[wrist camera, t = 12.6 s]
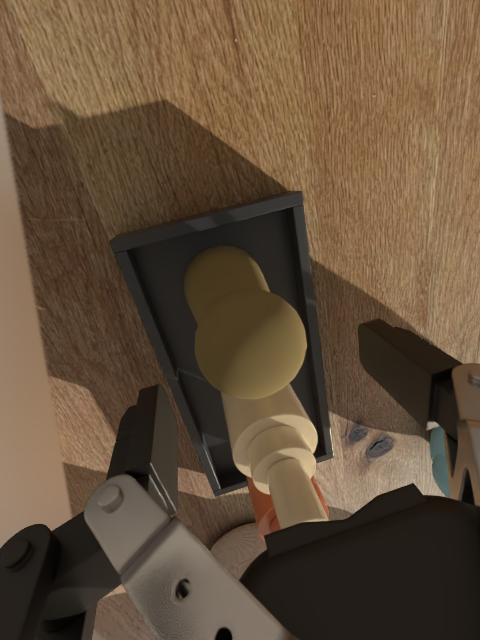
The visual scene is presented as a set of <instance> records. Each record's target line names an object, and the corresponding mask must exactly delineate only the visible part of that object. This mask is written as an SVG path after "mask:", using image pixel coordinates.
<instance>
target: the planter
mask: <svg viewBox="0 0 480 640" xmlns="http://www.w3.org/2000/svg"><path fill="white" fill-rule="evenodd" d="M266 549H267V547H266V543H265V542H264V541H263V540H262V539H261V538H260V536H259V534H258V530H257V526H256V523H250V524H245V525H242V526H239V527H237V528H234V529H232V530H231V531H229V532H227V533H226V534H224V535H223V536H222V537H221V538H220V539H219V540H218V541H217V542H216V543H215V544H214V545H213V547H212V548H211V550H210V552H211V553H212V554H213V555H214V556H215V557H216V558H217V559H218V560H219V561H220V562H221V563H222V564H223V565H224V566H225V567H226V568H227V569H228V570H229V571H230V572H231V573H232V574H233V575H234V576H235V577H236V578H237V579H238V580H239V579H240V578H241V576H242V574H243V573H244V571H245V570H246V569H247V567H248V566H249V565H250V564H251V562H252V561H253V560H254V559H255V558H256V557H258V556H259V555H260V554H261V553H262V552H264V551H265V550H266Z"/></svg>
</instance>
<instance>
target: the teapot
mask: <svg viewBox="0 0 480 640" xmlns="http://www.w3.org/2000/svg"><path fill="white" fill-rule="evenodd" d="M430 452H431V458H432V461H433V464H432V472H433V476H434V479H435V482H436V483H437V485H438V487H439V488H440V490H441V491H442V492H443V493H444V495H445V496H446V497H447V498H450V488H449V478H448V470H447V461H446V453H445V445H444V430H443V429H442V428H441V427H440V426H438V427H436V428H433V430H432V432H431V436H430Z"/></svg>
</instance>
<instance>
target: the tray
mask: <svg viewBox="0 0 480 640" xmlns="http://www.w3.org/2000/svg"><path fill="white" fill-rule="evenodd" d="M109 242H110V245H111V247H112V250H113V252H114V253H115V257H116V259H117V261H118V264H119V266H120V269H121V271H122V273H123V276H124V278H125V281H126V283H127V286H128V288H129V290H130V293H131V295H132V298H133V300H134V302H135V305H136V307H137V310H138V312H139V314H140V317H141V319H142V322H143V324H144V326H145V329H146V331H147V334H148V336H149V339H150V341H151V343H152V346H153V348H154V351H155V353H156V355H157V358H158V360H159V363H160V365H161V367H162V370H163V372H164V375H165V377H166V379H167V382H168V384H169V387H170V389H171V391H172V394H173V396H174V399H175V401H176V404H177V406H178V408H179V411H180V413H181V416H182V418H183V420H184V423H185V425H186V428H187V430H188V432H189V435H190V437H191V440H192V442H193V444H194V447H195V449H196V452H197V454H198V457H199V459H200V461H201V464H202V466H203V469H204V471H205V473H206V476H207V478H208V481H209V483H210V485H211V488H212V490H213V493H214V495H215V497H216V496H219V495H222V494H225V493H228V492H231V491H234V490H237V489H240V488H243V487H246V486H247V481H246V477H245V475H244V474H243V473H242V472H240V471H239V469H238V468H237V467H236V465H235V464H234V461H233V456H232V451H231V446H230V441H229V436H228V431H227V426H226V420H225V415H224V410H223V405H222V400H221V395H220V391H219V390H218V389H216V388H215V387H213V386H212V385H211V384H210V383H209V381H208V380H207V379H206V378H205V376H204V375H203V374H202V372H201V370H200V368H199V365H198V362H197V359H196V356H195V332H196V330H197V327H198V324H197V322H196V320H195V317H194V315H193V313H192V311H191V309H190V307H189V305H188V303H187V300H186V297H185V294H184V290H183V288H184V276H185V273H186V271H187V268H188V266H189V264H190V263H191V262H192V261H193V260H194V258H195V257H196V256H197V255H198V254H200V253H202V252H203V251H205V250H206V249H208V248H212V247H216V246H220V245H225V246H235V247H237V248H239V249H242V250H244V251H246V252H247V253H248V254H249V255H251V256H252V257H253V258H254V259H255V260H256V262H257V264H258V266H259V268H260V269H261V272H262V274H263V276H264V278H265V281H266V283H267V285H268V288H269V290H270V292H271V293H273V294H276V295H278V296H280V297H281V298H283V299H284V300H285V301H286V302H287V303H288V304H289V305H291V306H292V307H293V308H294V309H295V310H296V312H297V313H298V315H299V317H300V319H301V321H302V323H303V325H304V328H305V333H306V341H307V348H306V352H305V357H304V361H303V364H302V366H301V368H300V369H299V371H298V373H297V375H296V376H295V378H294V379H293V380H292V381H291V382H290V384H291V386H292V388H293V390H294V391H295V393H296V395H297V397H298V399H299V400H300V402H301V404H302V406H303V407H304V409H305V411H306V413H307V414H308V416H309V418H310V420H311V422H312V423H313V425H314V427H315V429H316V431H317V437H318V439H317V446H316V449H315V451H314V453H313V455H314V457H315V459H316V463H319V462H322V461H325V460H328V459H331V458H334V454H333V447H332V438H331V430H330V422H329V414H328V405H327V397H326V389H325V380H324V372H323V364H322V355H321V347H320V339H319V330H318V322H317V314H316V306H315V297H314V289H313V281H312V272H311V264H310V256H309V247H308V239H307V231H306V222H305V214H304V206H303V195H302V191H288V192H284V193H280V194H276V195H272V196H268V197H264V198H260V199H257V200H253V201H249V202H245V203H241V204H237V205H233V206H229V207H226V208H222V209H218V210H214V211H210V212H206V213H202V214H198V215H194V216H191V217H187V218H183V219H179V220H175V221H171V222H167V223H163V224H160V225H156V226H152V227H148V228H144V229H140V230H136V231H132V232H128V233H125V234H121V235H117V236H115V237H114V238H113V239H111V240H110V241H109Z"/></svg>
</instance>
